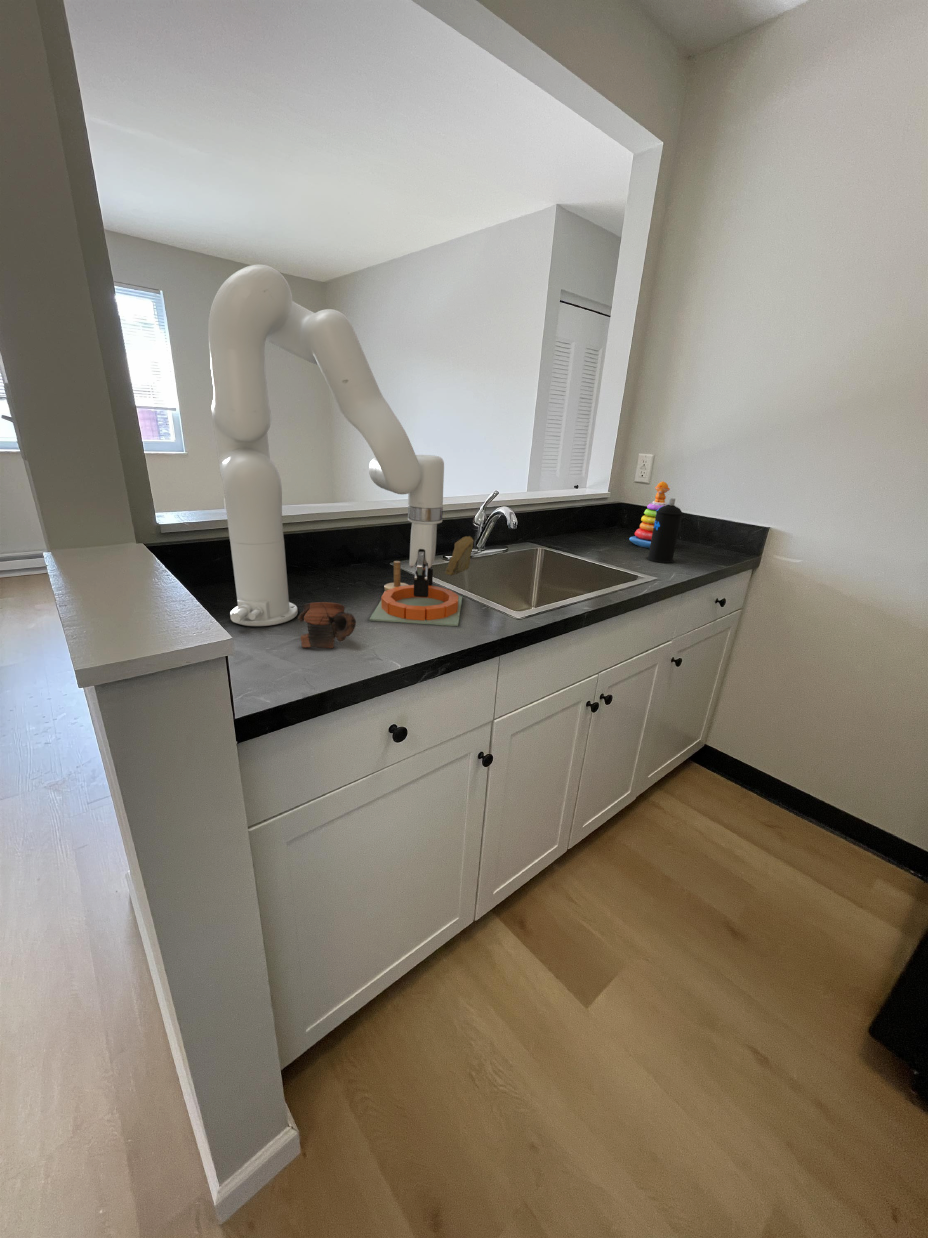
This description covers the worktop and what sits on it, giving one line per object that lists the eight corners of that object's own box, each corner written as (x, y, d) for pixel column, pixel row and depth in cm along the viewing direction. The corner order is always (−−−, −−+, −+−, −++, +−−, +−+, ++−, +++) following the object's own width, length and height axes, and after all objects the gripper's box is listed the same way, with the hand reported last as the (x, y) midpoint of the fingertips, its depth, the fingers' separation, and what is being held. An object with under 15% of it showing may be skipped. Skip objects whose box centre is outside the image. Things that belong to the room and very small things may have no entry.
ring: (455, 622, 100) (456, 611, 100) (375, 617, 101) (375, 606, 100) (459, 597, 116) (460, 587, 115) (390, 592, 116) (389, 583, 115)
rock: (455, 571, 129) (484, 561, 135) (441, 542, 130) (471, 533, 135) (438, 585, 139) (466, 576, 144) (426, 558, 139) (454, 550, 145)
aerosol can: (675, 560, 165) (688, 498, 158) (670, 564, 158) (683, 501, 151) (650, 555, 169) (661, 495, 162) (644, 560, 162) (655, 497, 155)
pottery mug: (284, 648, 87) (286, 602, 88) (320, 653, 95) (321, 611, 97) (341, 645, 82) (342, 596, 84) (373, 650, 91) (373, 606, 92)
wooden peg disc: (407, 594, 117) (407, 565, 114) (382, 592, 117) (382, 564, 115) (411, 587, 122) (411, 559, 120) (387, 585, 123) (387, 557, 120)
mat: (458, 626, 100) (458, 624, 100) (369, 620, 100) (369, 618, 100) (462, 597, 117) (462, 596, 116) (386, 593, 117) (386, 591, 117)
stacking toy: (675, 546, 185) (688, 482, 177) (661, 551, 176) (674, 484, 168) (641, 540, 194) (652, 478, 185) (626, 544, 185) (637, 479, 176)
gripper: (413, 507, 116) (412, 579, 123) (401, 520, 100) (401, 601, 106) (445, 509, 116) (442, 580, 122) (438, 522, 100) (435, 603, 106)
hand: (423, 590), depth 114 cm, fingers open, 8 cm apart
